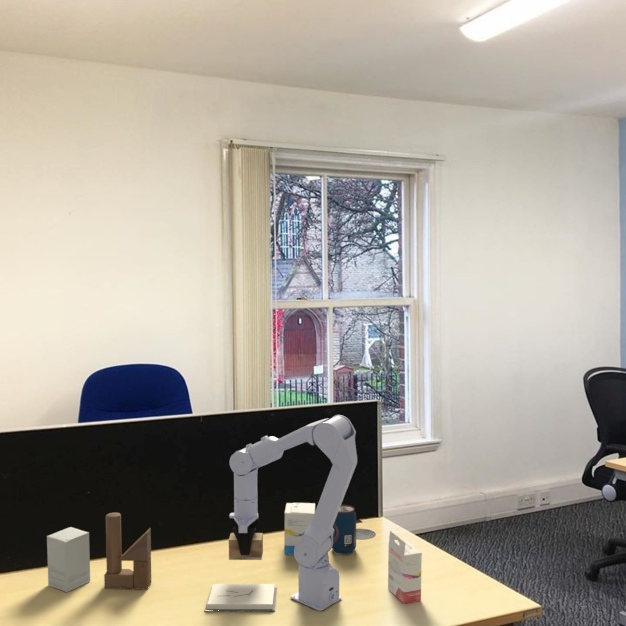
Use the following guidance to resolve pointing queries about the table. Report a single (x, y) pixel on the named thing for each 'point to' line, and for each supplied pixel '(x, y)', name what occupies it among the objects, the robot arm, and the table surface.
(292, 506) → the ink box
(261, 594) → the marked board
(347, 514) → the soda can
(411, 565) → the ink cartridge box
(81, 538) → the supplement box
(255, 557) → the block
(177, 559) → the table surface
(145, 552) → the wooden block
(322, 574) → the robot arm
